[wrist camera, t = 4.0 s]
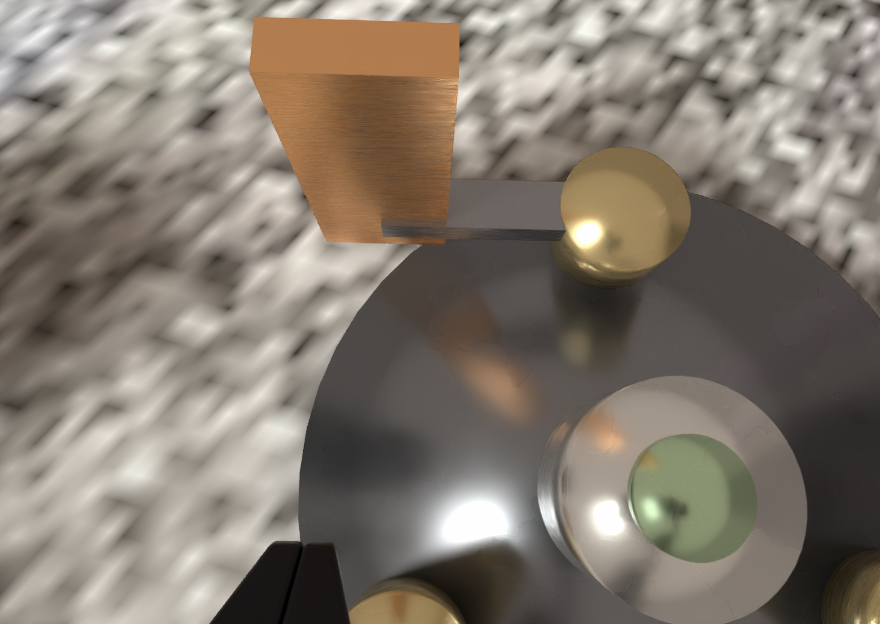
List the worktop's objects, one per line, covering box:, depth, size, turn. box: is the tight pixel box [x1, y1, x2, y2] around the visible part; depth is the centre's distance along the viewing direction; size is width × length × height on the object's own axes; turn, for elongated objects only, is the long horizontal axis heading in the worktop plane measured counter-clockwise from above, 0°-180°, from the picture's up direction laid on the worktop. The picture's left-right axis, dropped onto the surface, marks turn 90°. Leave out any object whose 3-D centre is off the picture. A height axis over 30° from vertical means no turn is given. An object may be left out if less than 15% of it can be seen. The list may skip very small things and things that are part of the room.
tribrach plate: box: [298, 192, 880, 624], centre depth 18 cm, size 21×21×6 cm
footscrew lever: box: [249, 17, 691, 290], centre depth 17 cm, size 12×4×10 cm, turn 89°
